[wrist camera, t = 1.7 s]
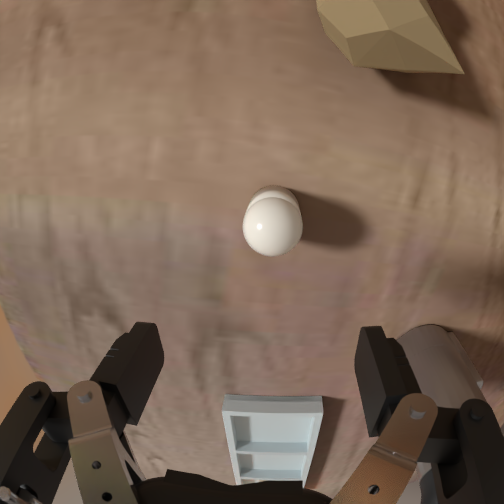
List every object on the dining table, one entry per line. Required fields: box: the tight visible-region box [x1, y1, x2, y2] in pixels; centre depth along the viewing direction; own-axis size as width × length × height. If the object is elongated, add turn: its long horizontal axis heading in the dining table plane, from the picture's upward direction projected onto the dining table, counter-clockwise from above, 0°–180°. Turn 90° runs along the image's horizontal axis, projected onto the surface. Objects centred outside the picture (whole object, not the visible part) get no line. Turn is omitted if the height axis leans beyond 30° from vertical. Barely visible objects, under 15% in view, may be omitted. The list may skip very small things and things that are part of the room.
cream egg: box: [243, 185, 303, 257], centre depth 25 cm, size 5×5×7 cm
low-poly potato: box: [316, 0, 464, 74], centre depth 15 cm, size 15×11×12 cm
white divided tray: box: [222, 394, 323, 488], centre depth 43 cm, size 13×34×3 cm, turn 2°
